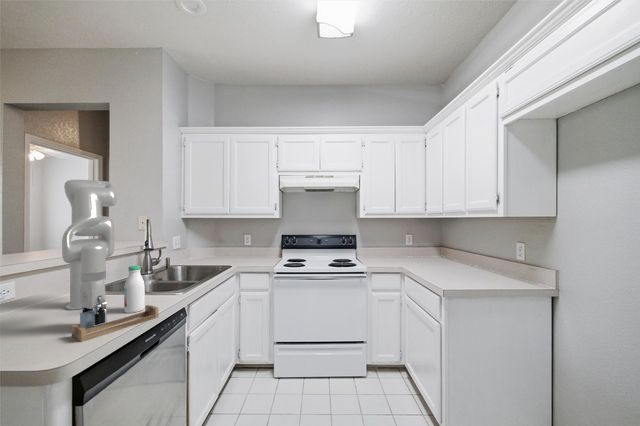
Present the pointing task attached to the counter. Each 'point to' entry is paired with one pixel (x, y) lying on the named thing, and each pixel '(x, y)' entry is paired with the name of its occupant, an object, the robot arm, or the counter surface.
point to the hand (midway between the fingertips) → (93, 321)
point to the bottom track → (81, 332)
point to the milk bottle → (134, 291)
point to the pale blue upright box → (89, 319)
